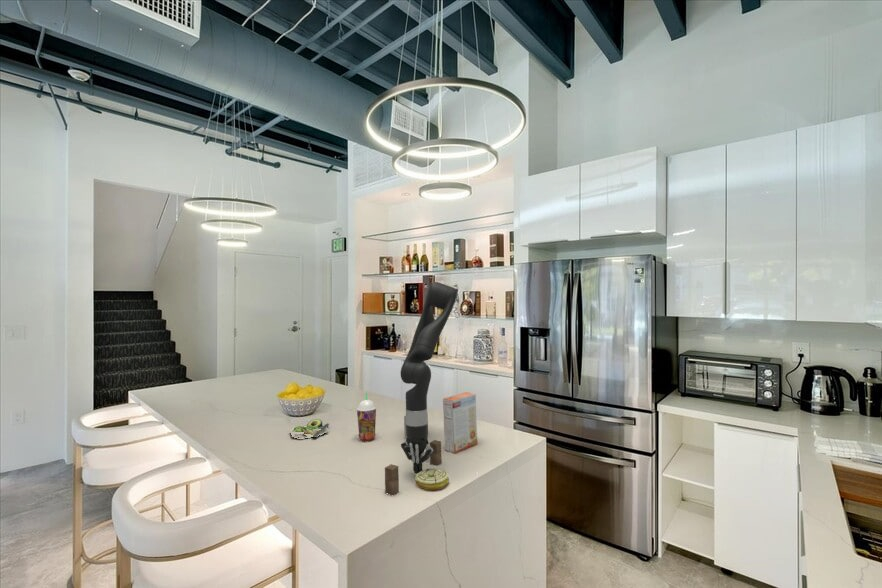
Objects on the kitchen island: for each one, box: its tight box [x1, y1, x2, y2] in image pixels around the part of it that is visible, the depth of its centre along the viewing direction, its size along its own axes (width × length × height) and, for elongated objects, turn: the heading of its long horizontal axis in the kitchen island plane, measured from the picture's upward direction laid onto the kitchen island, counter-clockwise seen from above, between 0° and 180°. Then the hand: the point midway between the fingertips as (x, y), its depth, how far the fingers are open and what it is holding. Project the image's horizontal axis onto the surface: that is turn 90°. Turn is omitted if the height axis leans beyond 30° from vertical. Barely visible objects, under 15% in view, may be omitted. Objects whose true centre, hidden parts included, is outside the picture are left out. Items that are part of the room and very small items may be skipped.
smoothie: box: [356, 392, 377, 442], centre depth 174 cm, size 8×8×20 cm
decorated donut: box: [414, 468, 450, 491], centre depth 131 cm, size 10×11×4 cm
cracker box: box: [442, 391, 478, 454], centre depth 162 cm, size 14×6×21 cm, turn 134°
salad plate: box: [292, 418, 330, 438], centre depth 183 cm, size 19×18×5 cm
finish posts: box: [384, 439, 443, 496], centre depth 136 cm, size 3×28×8 cm, turn 147°
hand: (417, 473), depth 135 cm, fingers closed
